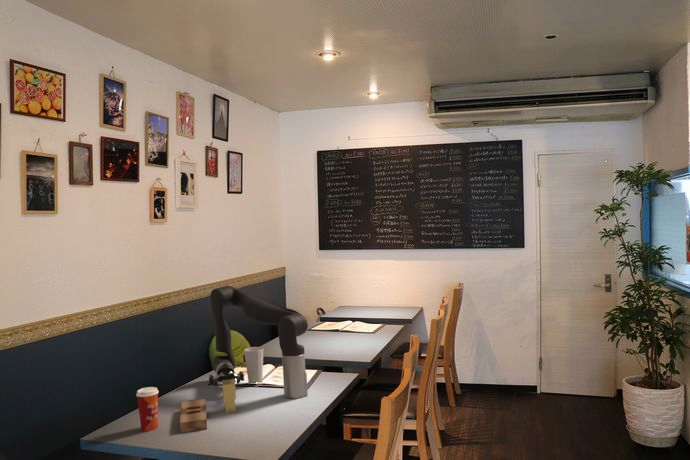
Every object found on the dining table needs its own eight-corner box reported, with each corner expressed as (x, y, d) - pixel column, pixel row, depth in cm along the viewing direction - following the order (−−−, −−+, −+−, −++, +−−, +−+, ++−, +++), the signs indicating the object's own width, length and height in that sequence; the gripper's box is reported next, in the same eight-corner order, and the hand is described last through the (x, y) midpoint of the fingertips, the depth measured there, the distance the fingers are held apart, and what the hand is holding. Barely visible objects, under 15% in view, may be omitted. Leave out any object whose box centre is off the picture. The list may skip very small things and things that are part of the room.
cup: (269, 381, 255) (267, 347, 255) (256, 387, 248) (254, 352, 248) (254, 379, 260) (252, 346, 260) (241, 384, 253) (240, 350, 252)
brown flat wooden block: (205, 407, 224) (205, 398, 224) (206, 428, 201) (206, 419, 201) (182, 410, 222) (181, 401, 222) (180, 432, 199) (180, 422, 199)
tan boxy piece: (235, 406, 224) (234, 378, 224) (236, 412, 217) (235, 383, 217) (223, 408, 223) (222, 380, 222) (224, 413, 216) (222, 385, 216)
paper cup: (153, 432, 200) (151, 393, 200) (133, 431, 202) (131, 392, 201) (164, 424, 208) (162, 386, 208) (145, 423, 209) (143, 386, 209)
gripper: (208, 365, 244) (208, 375, 229) (241, 362, 248) (244, 371, 232) (209, 382, 244) (209, 394, 229) (242, 379, 248) (245, 389, 232)
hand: (227, 382), depth 230 cm, fingers open, 8 cm apart
